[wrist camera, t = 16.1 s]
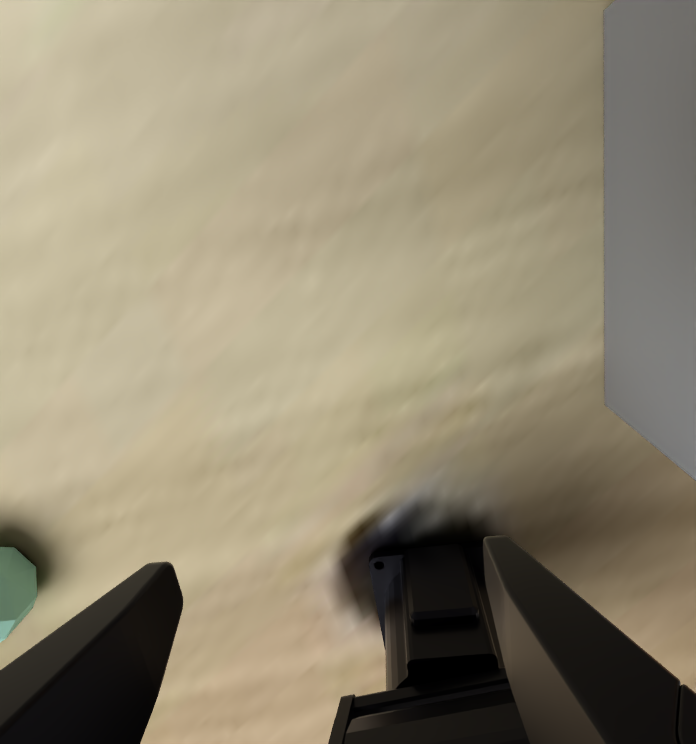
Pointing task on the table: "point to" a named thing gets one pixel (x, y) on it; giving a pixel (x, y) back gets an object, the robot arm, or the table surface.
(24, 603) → the container
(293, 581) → the table surface
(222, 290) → the table surface
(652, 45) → the grey hollow box
